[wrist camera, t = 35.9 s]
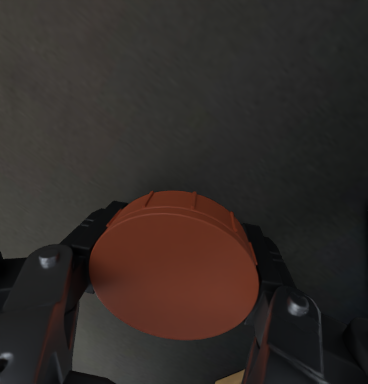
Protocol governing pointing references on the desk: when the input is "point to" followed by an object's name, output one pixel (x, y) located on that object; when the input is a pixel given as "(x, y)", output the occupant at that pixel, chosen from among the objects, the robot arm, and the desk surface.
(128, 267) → the lid
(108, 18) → the desk surface
